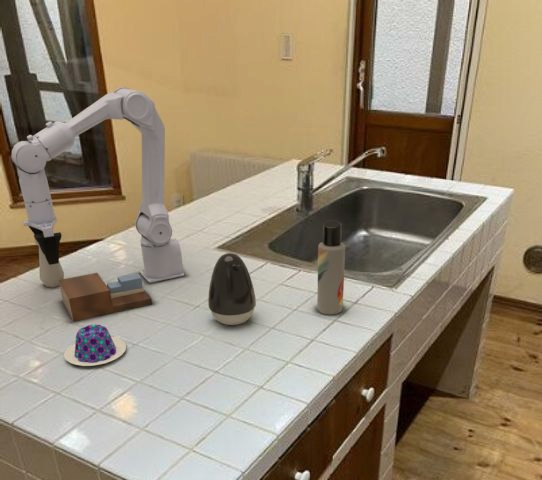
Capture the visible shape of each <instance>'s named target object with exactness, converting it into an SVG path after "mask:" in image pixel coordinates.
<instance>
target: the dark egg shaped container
mask: <svg viewBox="0 0 542 480" xmlns="http://www.w3.org/2000/svg"><path fill="white" fill-rule="evenodd" d="M210 277H211V278H210V283H209V289H208V298H207V299H208V300H207V303H208V308H209V310H210V312H211V315H212V316H213V317H214V319H215V320H216V321H217V322H219V323H220V324H223V325H227V326H237V325H241V324H243V323H245V322H247V321H248V320H249V319H250V318H251V317H252V316H253V314H254V312H255V308H256V306H257V299H256V293H255V288H254V283H253V281H252V278H251V275H250V272H249V270H248V267H247V265H246V264H245V262H244V261H243V259H242V258H241V256H239V255H238V254H236V253H233V252H227V253H223V254H222V255H221V256H219V257H218V259H217V260H216V262H215V264H214V267H213V270H212V273H211V276H210Z"/></svg>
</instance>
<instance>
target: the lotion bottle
mask: <svg viewBox="0 0 542 480" xmlns="http://www.w3.org/2000/svg"><path fill="white" fill-rule="evenodd" d="M317 247H318V248H317V293H316V294H317V296H316V297H317V298H316V299H317V301H316V304H317V305H316V306H317V307H316V309H317V311H318V312H319V313H321V314H324V315H330V316H331V315H337V314H340V313H341V312H342V311H343V307H344V291H345V287H344V286H345V264H346V263H345V262H346V244H345V243H344V242H342V223H341V222H340V221H338V220H335V219H331V220H327V221H326V222H323V224H322V242H320V243H318V245H317Z"/></svg>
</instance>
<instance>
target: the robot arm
mask: <svg viewBox="0 0 542 480" xmlns="http://www.w3.org/2000/svg"><path fill="white" fill-rule="evenodd" d="M105 120H120V121H121V120H125V121H128V122H129V123H131V125H132V126H133V127H134V128H135V129H137V130H138V132H139V133H140V134H141V203H140V204H139V206H138V214H137V217H136V218H135V222H134V223H135V224H134V225H135V229H136V231H137V232H138V234H140V235H141V236H140V249H141V255H142V256H141V257H142V262H143V270H140V271H139V273H140V275H141V276H142V277H143V278H144V279H145V280H146V281H147V282H148V283H149V284H151V283H156V282H160V281H165V280H170V279H175V278H180V277H184V276H185V273H184V266H183V256H182V248H181V245H180V243H179V240H178V239H177V238H172V236H173V227H172V225H171V223H170V221H169V220H170V219H169V218H170V216H169V212H168V209H167V208H166V207H167V206H166V205H165V165H166V163H165V159H166V158H165V156H166V155H165V153H166V150H165V148H166V147H165V145H166V139H165V137H166V129H165V128H166V127H165V124H164V122H163V120H162V118H161V116H160V114H159V113H158V111H157V109H156V104H155V101H154V100H153V99H151V98H150V97H149V96H148V95H147V94H146V93H144V92H143V91H140V90H134V89H131V88H129V87H126V86H125V87H123V86H121V87H118V88H116V89H115V90H114V91H111V92H108V93H106V94H105V95H103V96H102V97H101V98H99V99H97V100H96V101H95V102H93V103H92V104H91V105H89V106H88V107H86V108H84V109H83V110H82V111H80V112H79V113H77V114H76V115H75V116H74V117H72V118H71V119H70V120H68V121H66V122H62V121H59V120H56V121H47V122H46V123H45V126H46V127H44V128H43V129H41V130H39V131H38V132H37V133H35V134H34V135H32V134H29V135H27V136H26V139H27V140H21V141H18V142H17V143H15V144H14V146H13V148H12V149H11V155H10V158H11V161H12V163H13V164H14V165H16V169H17V175H18V177H19V179H18V182H19V186H20V190H21V195H22V198H23V203H24V208H25V211H26V216H27V219H26V220H23V221H22V223H23V226H24V227H28V228H29V229H30V231H31V232H32V233H33V238H34V240H35V239H36V241H37V242H38V243H39V245H38V247H39V246H40V248H41V250H42V252H43V254H44V255H45V257H46V260H47V262H48V263H49V265H52V264H57V263H59V262H60V243H61V239H62V237H63V235H62V232H61V231H58V232H54V227H55V225H56V224H57V223H58V220H57V216H56V213H55V209H54V204H53V199H52V195H51V191H50V186H49V182H48V177H47V175H46V170H45V168H46V164H47V162H50V161H52V160H54V159H55V158H56V157H57V156H59V155H61V154H62V153H64V152H66V151H67V150H69V149H70V148H71V147H74V144H75V140H76V137H78V136H79V135H81V134H83V133H85V132H86V131H88V130H90V129H92V128H93V127H95V126H97V125H99V124H100V123H102V122H103V121H105Z"/></svg>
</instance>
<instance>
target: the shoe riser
mask: <svg viewBox="0 0 542 480" xmlns="http://www.w3.org/2000/svg"><path fill="white" fill-rule="evenodd" d="M59 285H60V286H59V289H60V294H61V298H62V302H63V304H64V306H65V308H66V310H67V312H68V315H69V316H70V318H71V319H72V321H73V322H77V321H82V320H87V319H91V318H96V317H100V316H105V315H110V314H114V313H118V312H122V311H126V310H131V309H136V308H140V307H146V306H150V305H153V301H152V297H151V296H150V294H148V292H147V291H146V289H144V292H140V293H135V294H130V295H126V296H121V297H116V298H111V293H110V290H109V288H108V287H107V283H106V282H105V281H104V280H103V279H102V277H101V276H100V274H99V273H98V272H93V273H87V274H83V275H77V276H72V277H68V278H67V277H66V278H63V279H62V280H59Z"/></svg>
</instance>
